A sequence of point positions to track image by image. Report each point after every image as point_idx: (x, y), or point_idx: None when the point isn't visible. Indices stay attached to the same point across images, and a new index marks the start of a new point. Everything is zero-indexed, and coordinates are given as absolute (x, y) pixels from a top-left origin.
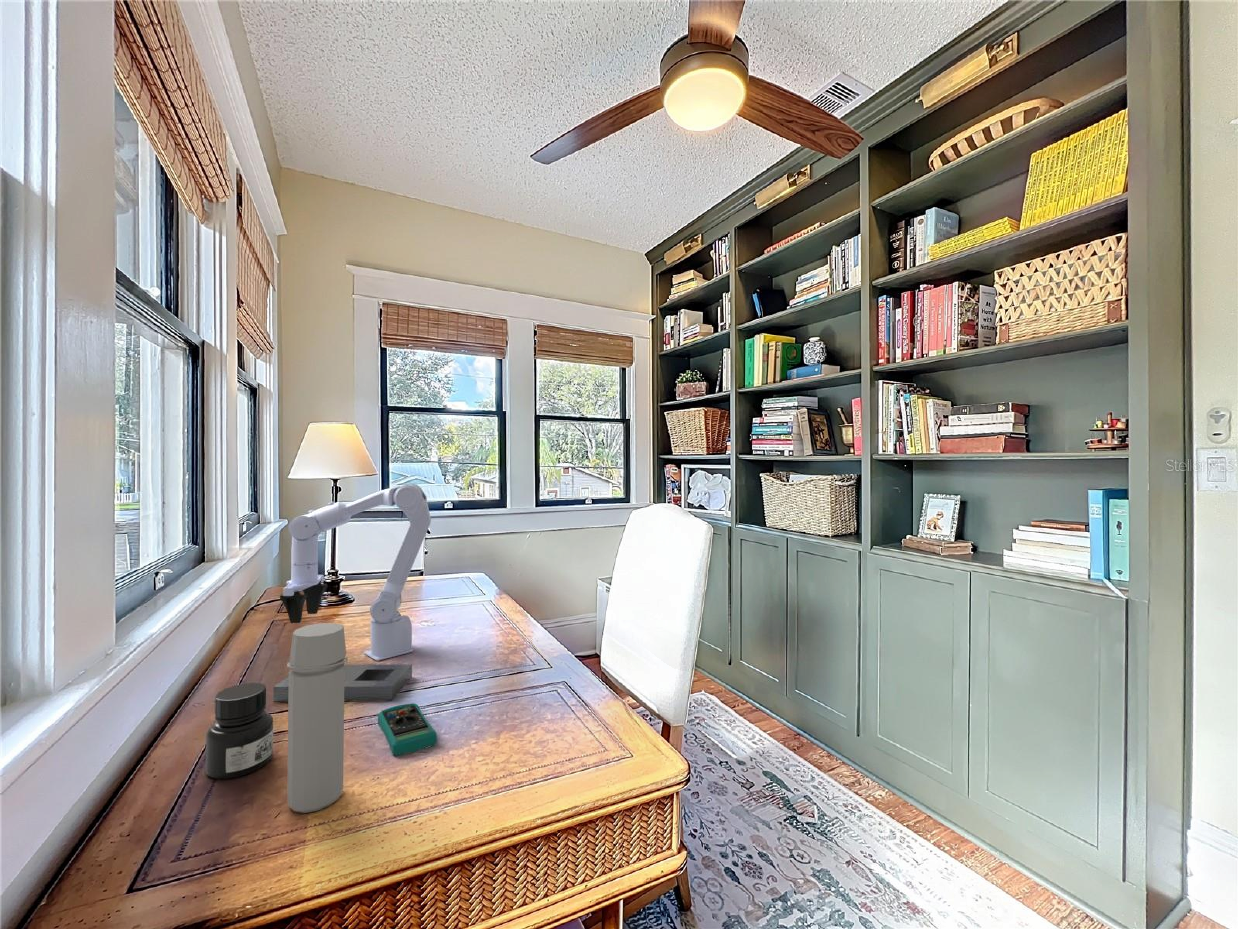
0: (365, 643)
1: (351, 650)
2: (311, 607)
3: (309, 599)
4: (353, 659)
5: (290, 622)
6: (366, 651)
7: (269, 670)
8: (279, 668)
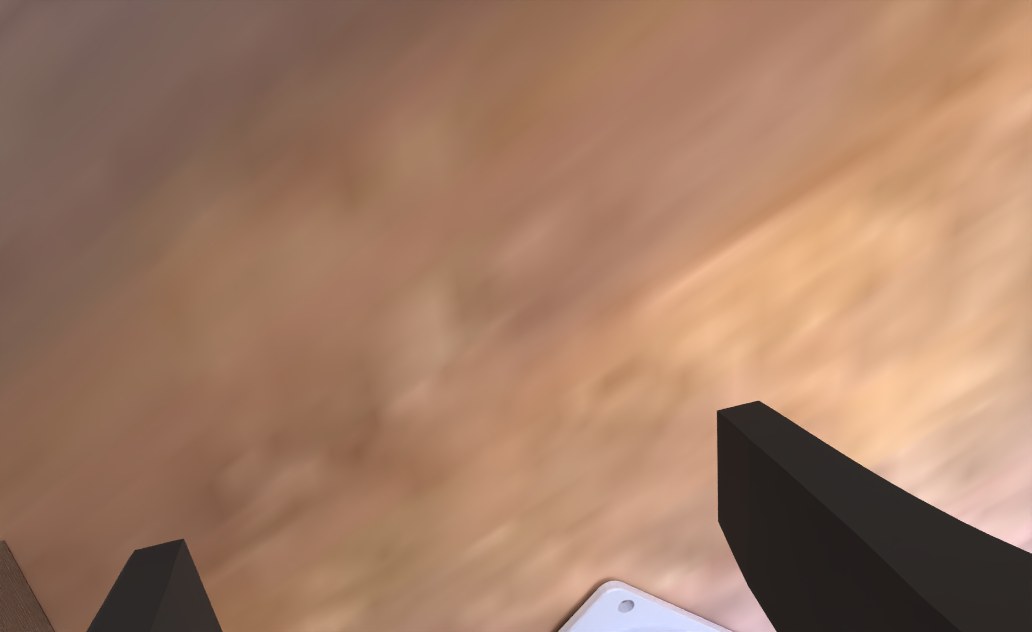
0: (852, 435)
1: (681, 443)
2: (773, 544)
3: (883, 627)
4: (480, 582)
5: (128, 561)
6: (612, 604)
7: (20, 85)
8: (111, 150)
